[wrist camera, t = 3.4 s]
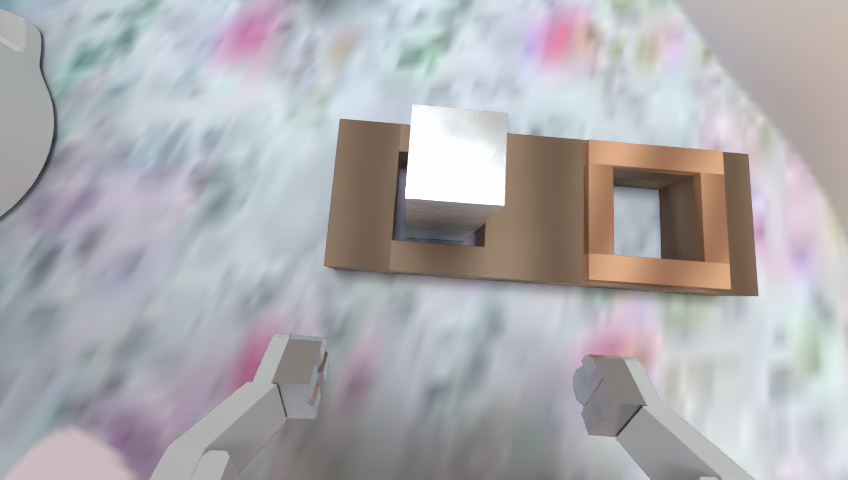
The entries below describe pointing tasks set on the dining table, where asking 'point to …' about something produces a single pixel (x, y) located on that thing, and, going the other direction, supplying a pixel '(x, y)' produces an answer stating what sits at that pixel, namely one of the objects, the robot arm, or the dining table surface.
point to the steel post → (454, 171)
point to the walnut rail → (555, 215)
